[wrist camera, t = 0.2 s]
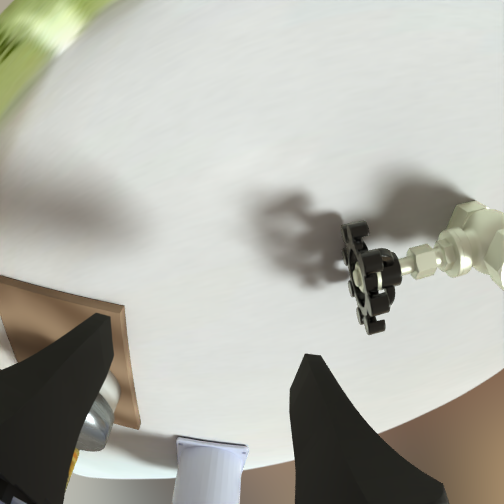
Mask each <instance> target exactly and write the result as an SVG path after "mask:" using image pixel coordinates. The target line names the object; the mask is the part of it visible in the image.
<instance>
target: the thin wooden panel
mask: <svg viewBox="0 0 504 504" xmlns="http://www.w3.org/2000/svg"><path fill="white" fill-rule="evenodd" d="M95 313H100V314H103V315H107V316H111V329H112V340H113V349H114V358H113V361H112V363H111V366H110V369H109V372H108V375H107V377H106V379H105V381H104V383H103V385H102V387H101V389H100V391H99V393H100V394H101V395H102V396H103V397H104V399H105V400H106V401H107V402H108V404H109V405H110V407H111V408H112V410H113V413H114V417H115V419H114V424H118V425H122V426H125V427H129V428H133V429H137V430H139V428H140V424H141V420H140V415H139V410H138V405H137V399H136V394H135V388H134V382H133V375H132V368H131V361H130V354H129V346H128V338H127V328H126V319H125V307H124V306H122V305H117V304H112V303H107V302H103V301H98V300H94V299H89V298H85V297H81V296H76V295H72V294H68V293H64V292H60V291H56V290H52V289H48V288H44V287H40V286H36V285H33V284H29V283H25V282H22V281H18V280H14V279H11V278H7V277H4V276H1V275H0V316H1V319H2V322H3V325H4V327H5V330H6V333H7V336H8V339H9V341H10V344H11V346H12V349H13V352H14V354H15V357H16V359H17V361H18V363H19V362H21V361H23V360H25V359H27V358H28V357H30V356H32V355H34V354H36V353H37V352H39V351H40V350H42V349H44V348H45V347H47V346H48V345H50V344H52V343H53V342H55V341H56V340H58V339H59V338H61V337H62V336H63V335H65V334H66V333H68V332H69V331H71V330H72V329H73V328H75V327H76V326H78V325H79V324H80V323H82V322H83V321H85V320H86V319H87V318H89V317H90V316H92V315H93V314H95Z"/></svg>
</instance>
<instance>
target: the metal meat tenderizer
mask: <svg viewBox="0 0 504 504" xmlns="http://www.w3.org/2000/svg"><path fill="white" fill-rule="evenodd" d="M0 370H1V369H0ZM114 419H115V417H114V413H113V410H112V408H111V407H110V405H109V404H108V402H107V401H106V400H105V399H104V397H103V396H102V395H101V394H100V393H98V395H97V397H96V399H95V401H94V403H93V405H92V407H91V409H90V411H89V414H88V416H87V418H86V420H85V422H84V424H83V427H82V429H81V432H80V435H79V438H78V441H77V444H76V447H75V448H77V449H80V450H85V451H100V450H102V449H103V448H104V447H105V445H106V442H107V439H108V436H109V434H110V431H111V428H112V426H113V423H114Z"/></svg>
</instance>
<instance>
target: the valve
mask: <svg viewBox="0 0 504 504" xmlns="http://www.w3.org/2000/svg"><path fill="white" fill-rule="evenodd" d="M341 234H342V238H343V241H344V243H345V244H346V248H344V249H342V256H343V261H344V264H345V265H346V266H348V269H349V273H350V280H349V281H348V287H349V292H350V295H351V297H355V298H356V301H357V305H358V307H357V309H356V312H357V318H358V321H359V324H360V325H363V324H364V325H365V329H366V332H367V334H368V335H372V334H376V333H379V332H383V331H385V320H380V321H377V320H376V317H375V316H377V315H380V314H384V313H388V312H389V311H390V306H391V305H392V303H393V301H394V299H395V287H394V286H398V285H400V284H401V282H402V276H403V275H406V274H411V276H412V277H413V278H414V279H415V280H417V279H421V278H424V277H428V276H431V275H434V273H435V271H436V269H437V267H438V268H439V269H440V270H441V271H443V272H446V273H447V275H448V276H450V277H452V278H455V277H459V276H462V275H465V274H467V273H468V272H469V271H470V270H471V267H472V266H473V267H474V268H475V269H476V270H477V271H479V272H481V273H483V274H487V275H490V277H491V279H492V280H493V281H494V282H495V283H496V284H497V285H498V286H499V287H500V288H501V289H502V290H503V291H504V213H502V212H500V211H498V210H495V209H488V207H487V206H485V205H483V204H481V203H479V202H478V201H471V202H467V203H462V204H458V205H456V207H455V209H454V212H453V214H452V216H451V219H450V221H449V224H448V226H447V229H446V230H443V231H442V232H441V233H440V235H439V238H438V241H437V242H436V243H435V245H434V248H433V249H432V248H431V247H430V246H429V245H428V244H423V245H419V246H415V247H412V248H409V249H408V251H407V255H406V257H404V258H400V259H398V257H397V256H396V254H395V253H394V252H391V251H390V250H388V249H384V248H379V249H374V250H369V251H368V248H367V246H366V244H365V243H364V241H363V240H362V237H364V236H368V235H370V233H369V228H368V225H367V223H366V221H364V220H363V221H359V222H354V223H349V224H345V225H341ZM383 289H384V291H385V292H384V293H380V294H379V293H378V291H379V290H383Z"/></svg>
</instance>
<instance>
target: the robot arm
mask: <svg viewBox="0 0 504 504" xmlns="http://www.w3.org/2000/svg"><path fill="white" fill-rule="evenodd" d="M113 358H114V349H113V340H112V329H111V316H107V315H103V314H100V313H95V314H93V315H92V316H90V317H89V318H87V319H86V320H85V321H83V322H82V323H80V324H79V325H78V326H76V327H75V328H73V329H72V330H71V331H69V332H68V333H66V334H65V335H63V336H62V337H61V338H59V339H58V340H56V341H55V342H53V343H52V344H50V345H48V346H47V347H45V348H44V349H42V350H40V351H39V352H37V353H36V354H34V355H32V356H30V357H28V358H27V359H25V360H23V361H21V362H19V363H17V364H15V365H12V366H10V367H8V368H5V369H3V370H0V504H63V501H64V494H65V488H66V483H67V479H68V474H69V469H70V465H71V462H72V458H73V454H74V451H75V447H76V444H77V441H78V438H79V435H80V432H81V429H82V427H83V424H84V422H85V420H86V418H87V416H88V414H89V411H90V409H91V407H92V405H93V403H94V401H95V399H96V397H97V395H98V393H99V391H100V389H101V387H102V385H103V383H104V381H105V379H106V377H107V375H108V372H109V369H110V366H111V363H112V361H113ZM289 413H290V422H291V431H292V440H293V448H294V457H295V467H296V468H295V469H296V486H295V489H296V490H295V504H449V501H448V498H447V495H446V491H445V488H444V485H443V483H441V482H439V481H437V480H436V479H434V478H432V477H430V476H429V475H427V474H425V473H424V472H422V471H421V470H419V469H418V468H416V467H415V466H414V465H412V464H411V463H409V462H408V461H407V460H405V459H404V458H403V457H402V456H400V455H399V454H398V453H397V452H396V451H394V449H392V448H391V447H390V446H389V445H388V444H387V443H386V442H385V441H384V440H383V439H382V438H380V436H379V435H378V434H377V433H376V432H375V431H374V430H373V429H372V428H371V427H370V426H369V424H368V423H367V422H366V421H365V420H364V418H363V417H362V416H361V415H360V413H359V412H358V411H357V410H356V408H355V407H354V406H353V404H352V403H351V401H350V400H349V399H348V397H347V396H346V394H345V393H344V391H343V390H342V388H341V387H340V385H339V384H338V382H337V381H336V379H335V377H334V376H333V374H332V373H331V371H330V369H329V368H328V366H327V365H326V363H325V361H324V360H323V358H322V357H321V355H312V354H305V355H304V357H303V360H302V362H301V364H300V367H299V369H298V372H297V374H296V376H295V379H294V381H293V383H292V385H291V388H290V408H289ZM176 444H177V458H178V471H177V476H176V482H175V487H174V493H173V498H172V504H239V502H240V484H241V473H242V471H243V468H244V465H245V462H246V459H247V456H248V453H249V448H248V447H246V446H237V445H228V444H220V443H213V442H206V441H199V440H193V439H187V438H181V437H178V438H177V440H176Z"/></svg>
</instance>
